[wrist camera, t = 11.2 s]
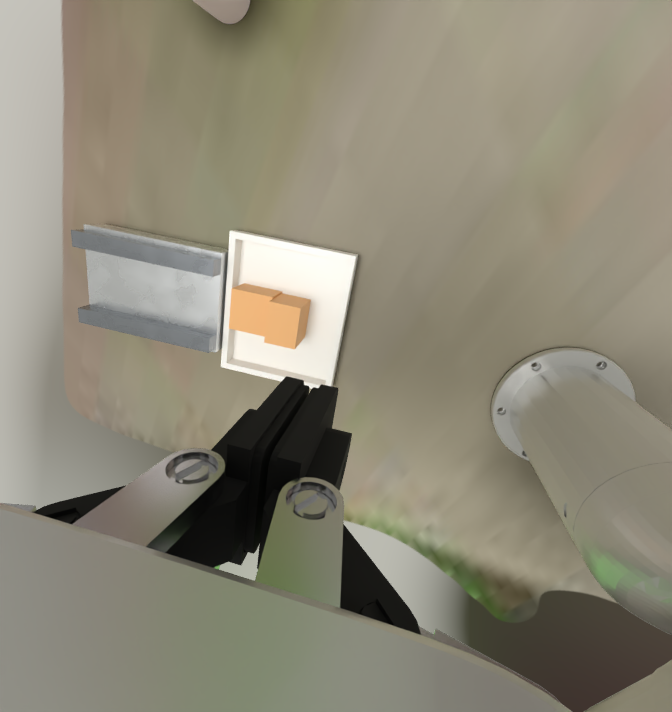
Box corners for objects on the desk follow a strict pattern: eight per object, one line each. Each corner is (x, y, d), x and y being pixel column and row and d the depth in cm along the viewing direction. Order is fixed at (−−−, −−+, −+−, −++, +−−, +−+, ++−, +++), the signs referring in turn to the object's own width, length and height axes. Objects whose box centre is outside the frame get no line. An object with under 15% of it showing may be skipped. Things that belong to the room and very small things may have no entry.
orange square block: (282, 293, 37) (310, 299, 36) (277, 330, 38) (305, 336, 38) (268, 301, 33) (300, 308, 33) (264, 342, 34) (294, 349, 34)
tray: (358, 254, 35) (356, 256, 33) (332, 385, 40) (329, 393, 38) (238, 230, 36) (229, 230, 34) (229, 360, 41) (220, 366, 39)
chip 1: (282, 291, 36) (272, 297, 34) (277, 328, 38) (267, 337, 35) (244, 283, 37) (231, 288, 34) (241, 320, 38) (228, 328, 36)
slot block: (235, 250, 36) (214, 254, 32) (228, 343, 40) (208, 357, 36) (107, 223, 38) (70, 224, 33) (111, 316, 41) (79, 326, 37)
